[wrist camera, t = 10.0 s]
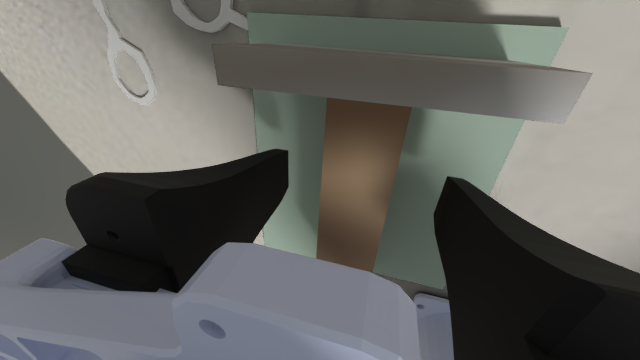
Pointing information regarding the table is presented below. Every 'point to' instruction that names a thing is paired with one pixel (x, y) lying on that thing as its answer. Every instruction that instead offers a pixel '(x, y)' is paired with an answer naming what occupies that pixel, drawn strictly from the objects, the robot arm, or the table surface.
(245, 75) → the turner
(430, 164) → the tool mat
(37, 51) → the table surface
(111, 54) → the scissors
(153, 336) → the robot arm
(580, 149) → the table surface
